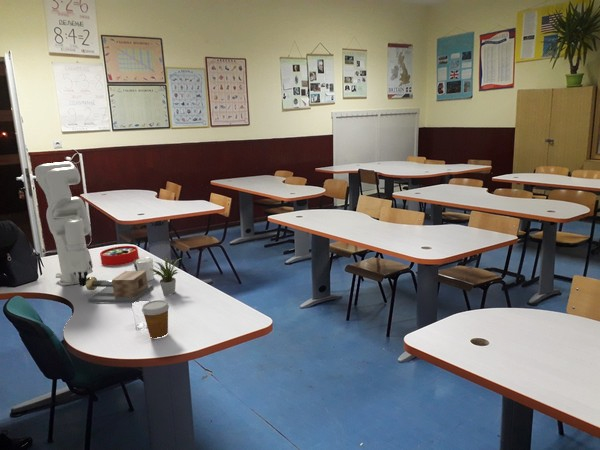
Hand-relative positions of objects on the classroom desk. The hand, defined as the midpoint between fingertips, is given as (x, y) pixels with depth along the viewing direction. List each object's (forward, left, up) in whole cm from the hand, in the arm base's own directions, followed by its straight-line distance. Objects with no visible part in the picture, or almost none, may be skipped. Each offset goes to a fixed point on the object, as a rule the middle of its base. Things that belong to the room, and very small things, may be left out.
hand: (83, 285), depth 224 cm
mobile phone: (+8, +36, -5) cm, 37 cm away
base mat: (+18, 0, -5) cm, 19 cm away
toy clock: (-12, +53, -5) cm, 54 cm away
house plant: (+40, +4, -5) cm, 41 cm away
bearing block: (+23, 0, -3) cm, 23 cm away
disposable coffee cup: (+54, -39, -5) cm, 67 cm away
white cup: (+20, +21, -5) cm, 30 cm away
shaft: (+12, 0, -2) cm, 12 cm away
